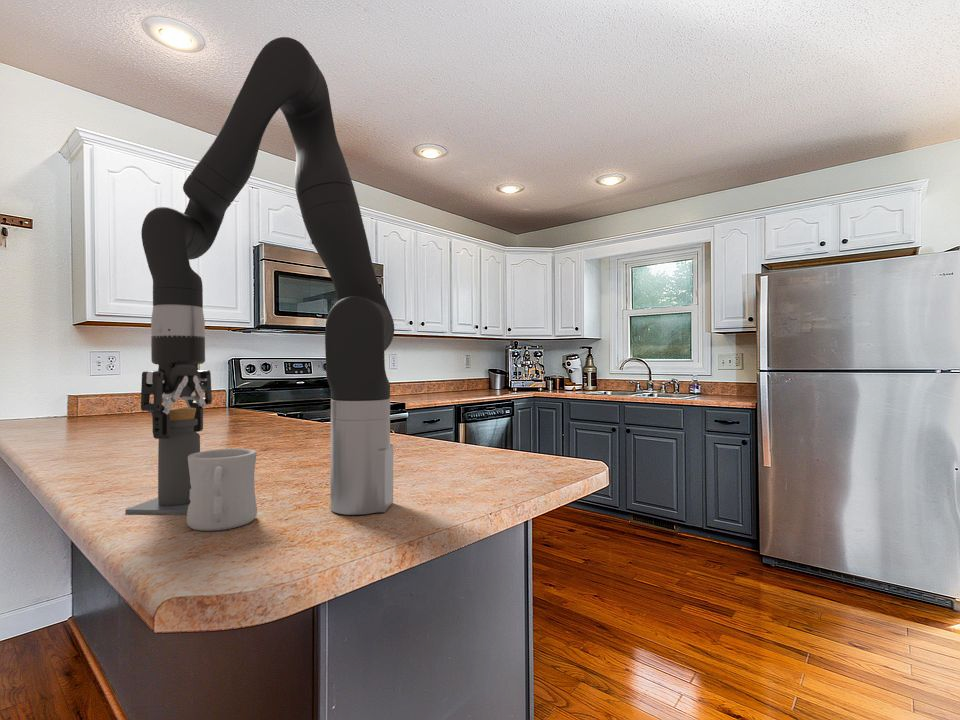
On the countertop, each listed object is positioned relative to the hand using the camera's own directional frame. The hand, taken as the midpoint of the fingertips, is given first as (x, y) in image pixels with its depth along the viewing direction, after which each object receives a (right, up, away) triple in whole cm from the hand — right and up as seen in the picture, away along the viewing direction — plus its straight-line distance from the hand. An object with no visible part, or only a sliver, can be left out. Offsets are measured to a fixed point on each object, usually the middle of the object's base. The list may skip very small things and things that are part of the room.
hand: (179, 434), depth 83 cm
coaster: (0, -11, 0) cm, 11 cm away
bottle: (0, -11, 0) cm, 11 cm away
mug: (+12, -12, -11) cm, 20 cm away
